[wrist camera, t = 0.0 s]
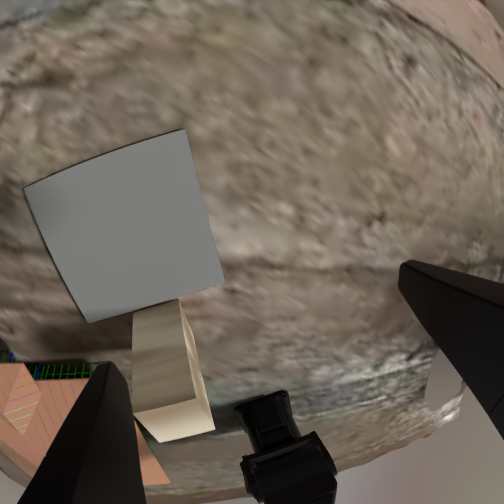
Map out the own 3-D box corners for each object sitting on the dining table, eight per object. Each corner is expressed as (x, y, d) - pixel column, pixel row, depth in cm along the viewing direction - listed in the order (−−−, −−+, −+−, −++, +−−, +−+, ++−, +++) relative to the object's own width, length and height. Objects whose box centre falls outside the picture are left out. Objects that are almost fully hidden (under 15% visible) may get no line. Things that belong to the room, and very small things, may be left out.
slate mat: (224, 279, 25) (225, 282, 25) (89, 320, 23) (88, 323, 23) (184, 128, 19) (185, 129, 19) (25, 187, 17) (23, 188, 17)
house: (106, 328, 24) (99, 402, 17) (173, 474, 39) (182, 517, 32) (-64, 337, 19) (-90, 389, 12) (51, 476, 34) (50, 514, 27)
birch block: (192, 334, 26) (215, 429, 18) (151, 346, 26) (159, 442, 17) (178, 299, 24) (196, 398, 16) (133, 312, 24) (132, 413, 15)
